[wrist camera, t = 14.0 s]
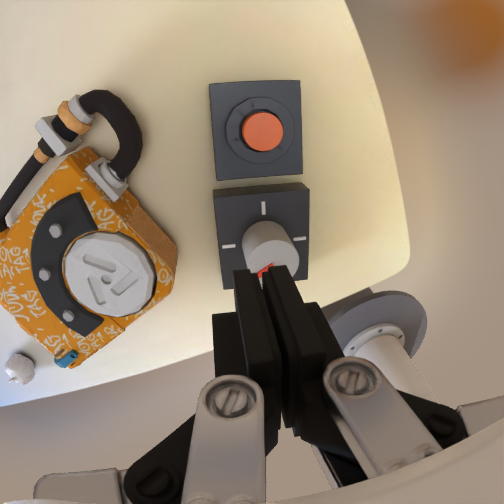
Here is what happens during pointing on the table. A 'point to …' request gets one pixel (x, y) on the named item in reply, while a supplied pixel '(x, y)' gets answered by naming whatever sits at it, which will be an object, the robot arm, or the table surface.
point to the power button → (262, 131)
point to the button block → (235, 113)
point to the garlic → (20, 369)
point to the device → (82, 238)
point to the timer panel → (255, 210)
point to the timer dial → (268, 248)
